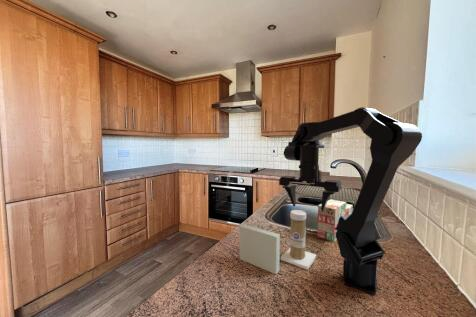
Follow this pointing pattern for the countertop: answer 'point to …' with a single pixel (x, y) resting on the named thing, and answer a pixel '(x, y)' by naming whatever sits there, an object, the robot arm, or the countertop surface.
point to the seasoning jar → (297, 234)
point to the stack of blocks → (331, 218)
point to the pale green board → (260, 248)
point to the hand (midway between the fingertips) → (307, 208)
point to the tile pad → (301, 263)
